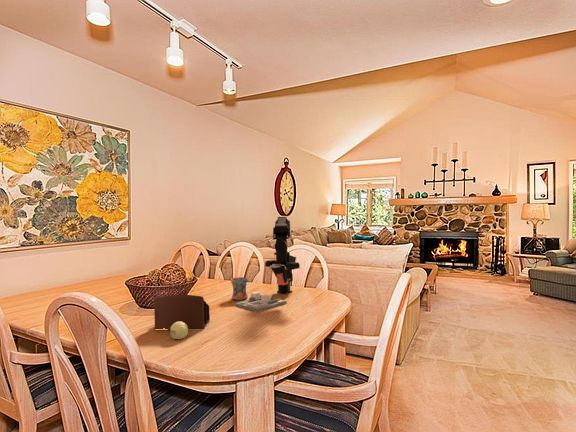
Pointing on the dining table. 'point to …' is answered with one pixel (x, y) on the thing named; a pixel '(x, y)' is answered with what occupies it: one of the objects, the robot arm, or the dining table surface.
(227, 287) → the dining table surface
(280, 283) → the red block
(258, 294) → the switch
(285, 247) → the robot arm
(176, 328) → the tennis ball
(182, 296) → the letter holder
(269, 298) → the switch
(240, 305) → the breaker panel
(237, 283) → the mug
